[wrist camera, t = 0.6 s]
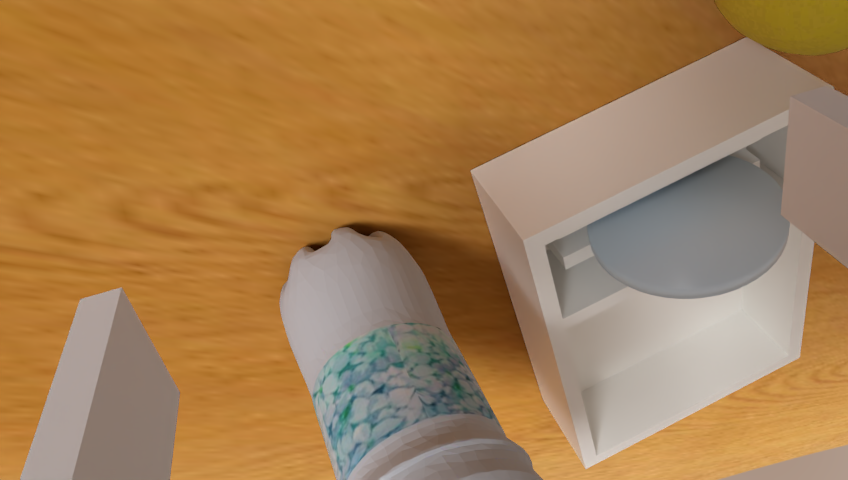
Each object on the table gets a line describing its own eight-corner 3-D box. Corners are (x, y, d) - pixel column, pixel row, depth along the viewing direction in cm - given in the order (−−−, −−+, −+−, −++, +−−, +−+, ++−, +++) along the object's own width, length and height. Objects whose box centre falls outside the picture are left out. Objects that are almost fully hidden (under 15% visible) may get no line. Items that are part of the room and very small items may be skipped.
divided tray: (470, 170, 32) (574, 308, 25) (747, 36, 33) (918, 135, 26) (542, 400, 45) (624, 532, 38) (740, 298, 46) (853, 410, 39)
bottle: (276, 340, 34) (424, 860, 19) (257, 226, 30) (427, 781, 15) (412, 306, 36) (641, 758, 21) (412, 195, 32) (697, 662, 17)
